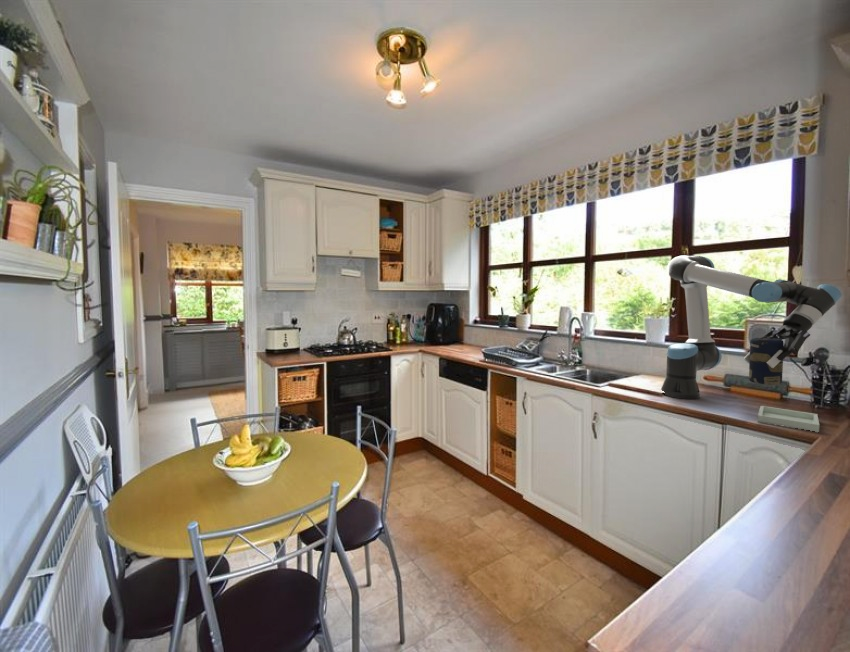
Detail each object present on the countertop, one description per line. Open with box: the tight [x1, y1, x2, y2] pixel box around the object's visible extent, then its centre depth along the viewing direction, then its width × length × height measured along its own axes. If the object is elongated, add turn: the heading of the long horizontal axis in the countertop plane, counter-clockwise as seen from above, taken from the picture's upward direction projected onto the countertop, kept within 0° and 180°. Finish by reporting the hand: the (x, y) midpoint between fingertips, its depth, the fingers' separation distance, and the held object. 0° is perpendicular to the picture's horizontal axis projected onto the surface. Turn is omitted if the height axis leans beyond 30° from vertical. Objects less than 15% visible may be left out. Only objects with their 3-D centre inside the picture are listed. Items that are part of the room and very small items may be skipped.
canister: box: [748, 336, 785, 386], centre depth 147 cm, size 10×10×18 cm
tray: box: [757, 405, 820, 433], centre depth 146 cm, size 16×16×3 cm
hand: (757, 363), depth 147 cm, fingers closed on canister, 9 cm apart
